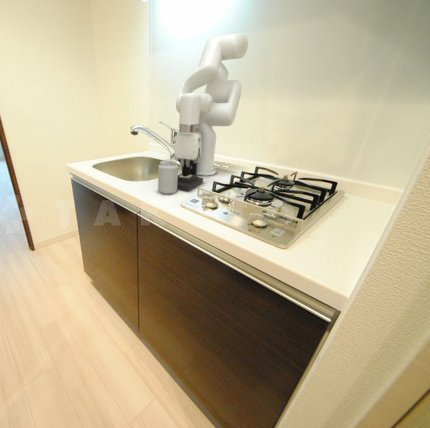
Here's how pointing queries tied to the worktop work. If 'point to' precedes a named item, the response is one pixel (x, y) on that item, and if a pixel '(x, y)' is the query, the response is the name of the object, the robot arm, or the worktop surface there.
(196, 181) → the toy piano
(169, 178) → the can
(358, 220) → the worktop surface
